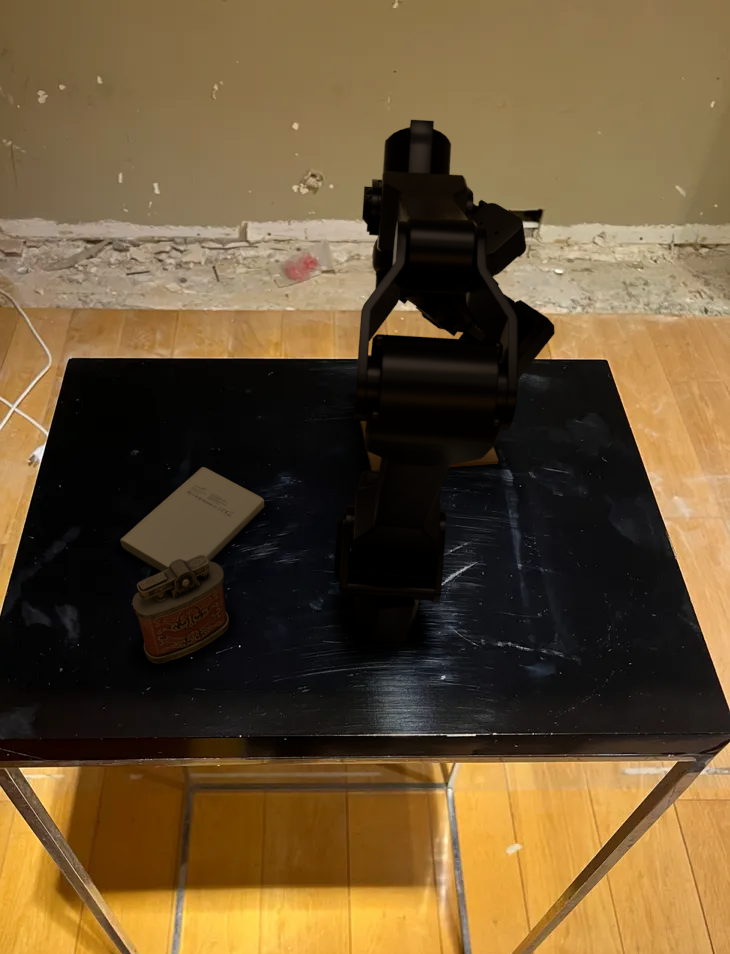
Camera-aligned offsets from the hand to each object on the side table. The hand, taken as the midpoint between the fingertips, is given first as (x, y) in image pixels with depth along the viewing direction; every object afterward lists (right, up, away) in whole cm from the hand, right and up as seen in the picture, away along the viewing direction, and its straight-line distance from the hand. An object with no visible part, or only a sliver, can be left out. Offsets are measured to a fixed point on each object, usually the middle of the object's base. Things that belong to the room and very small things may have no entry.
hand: (494, 334), depth 85 cm
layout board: (-6, -9, +9) cm, 14 cm away
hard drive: (-30, -20, -2) cm, 37 cm away
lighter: (-30, -30, -10) cm, 44 cm away
